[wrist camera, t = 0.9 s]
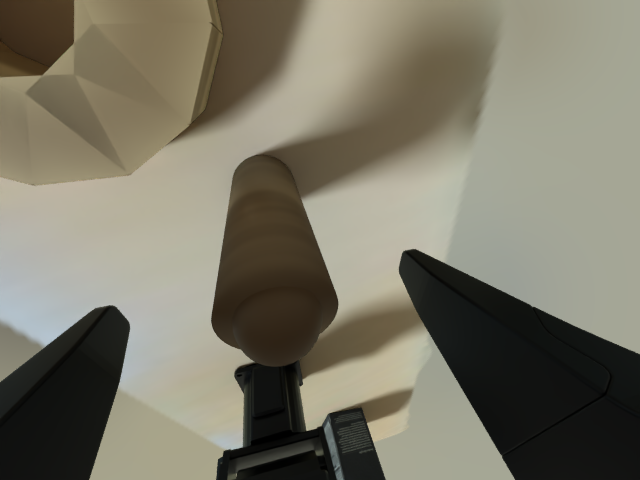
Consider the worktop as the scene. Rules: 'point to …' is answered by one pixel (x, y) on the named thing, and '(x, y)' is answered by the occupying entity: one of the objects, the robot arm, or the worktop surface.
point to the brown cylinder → (270, 269)
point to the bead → (108, 90)
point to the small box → (352, 446)
